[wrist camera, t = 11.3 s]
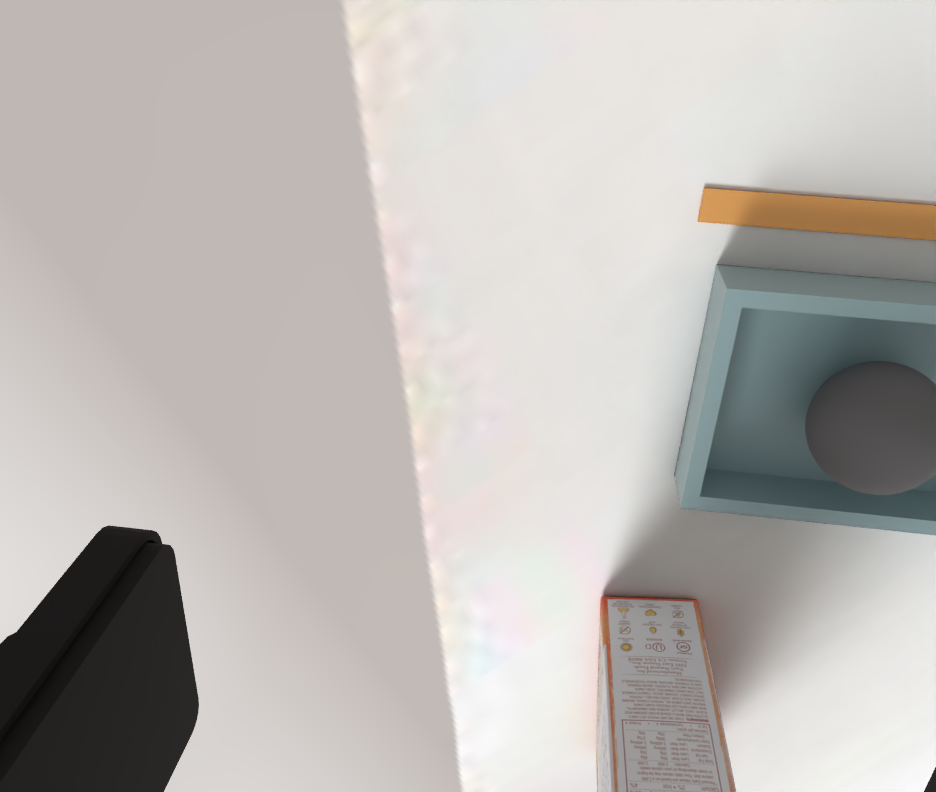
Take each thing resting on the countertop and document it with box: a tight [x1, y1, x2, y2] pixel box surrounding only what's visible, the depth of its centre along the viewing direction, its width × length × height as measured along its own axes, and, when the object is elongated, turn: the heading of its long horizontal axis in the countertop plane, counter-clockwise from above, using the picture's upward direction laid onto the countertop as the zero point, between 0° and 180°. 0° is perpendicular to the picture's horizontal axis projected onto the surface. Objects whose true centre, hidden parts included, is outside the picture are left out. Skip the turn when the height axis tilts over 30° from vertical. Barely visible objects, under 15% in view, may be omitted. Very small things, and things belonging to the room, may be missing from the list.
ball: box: [805, 361, 936, 495], centre depth 37 cm, size 6×6×6 cm
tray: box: [674, 188, 936, 535], centre depth 38 cm, size 15×18×3 cm
